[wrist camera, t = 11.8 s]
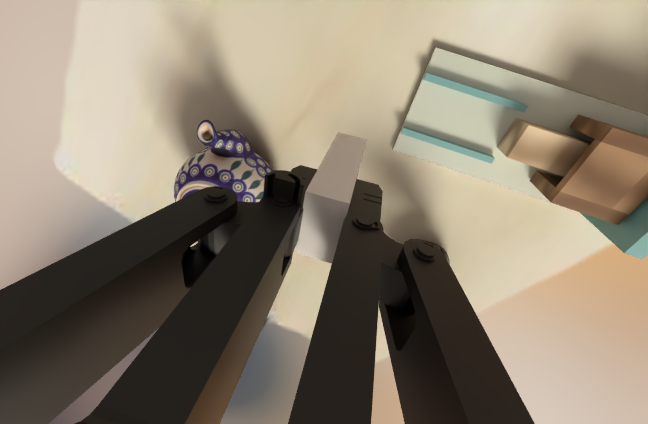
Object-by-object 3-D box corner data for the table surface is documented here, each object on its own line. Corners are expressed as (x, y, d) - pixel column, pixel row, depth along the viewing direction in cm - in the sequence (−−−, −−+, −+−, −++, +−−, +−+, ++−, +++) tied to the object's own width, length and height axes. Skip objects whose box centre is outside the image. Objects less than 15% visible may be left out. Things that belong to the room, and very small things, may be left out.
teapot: (278, 246, 55) (245, 307, 43) (206, 224, 56) (153, 277, 44) (299, 117, 42) (258, 150, 29) (202, 90, 43) (124, 112, 30)
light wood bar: (515, 117, 35) (528, 125, 32) (610, 148, 35) (634, 160, 32) (496, 147, 38) (507, 157, 34) (586, 177, 37) (605, 190, 34)
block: (578, 114, 34) (612, 127, 28) (645, 136, 33) (692, 153, 28) (529, 180, 38) (550, 202, 33) (587, 200, 38) (618, 225, 33)
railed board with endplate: (435, 47, 34) (448, 48, 26) (675, 124, 33) (769, 151, 25) (392, 148, 41) (392, 174, 33) (590, 214, 40) (641, 258, 32)
